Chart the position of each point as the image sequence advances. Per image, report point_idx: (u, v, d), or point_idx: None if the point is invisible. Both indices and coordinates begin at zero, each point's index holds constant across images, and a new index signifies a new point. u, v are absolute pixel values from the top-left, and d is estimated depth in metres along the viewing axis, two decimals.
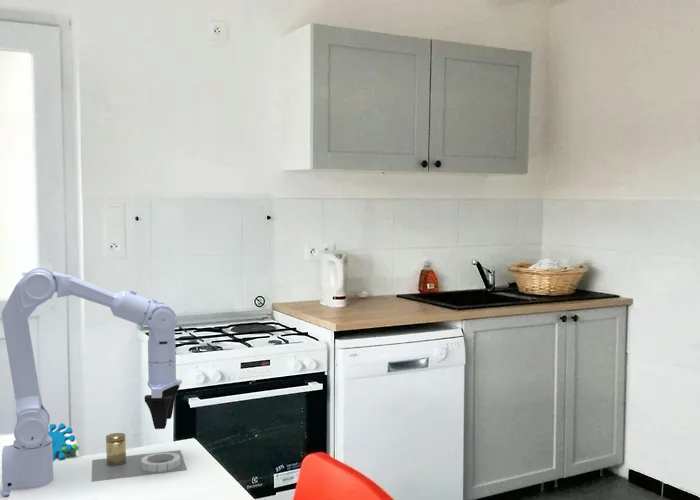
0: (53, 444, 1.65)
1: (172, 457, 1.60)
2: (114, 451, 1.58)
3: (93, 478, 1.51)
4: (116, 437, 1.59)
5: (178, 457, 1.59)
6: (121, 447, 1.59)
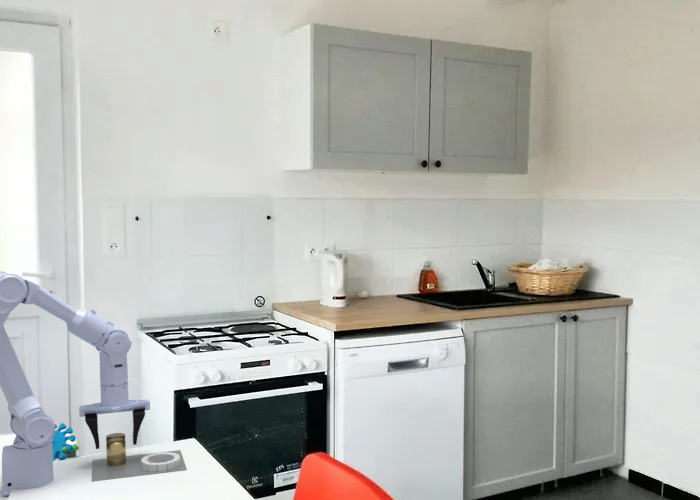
0: (53, 444, 1.65)
1: (172, 457, 1.60)
2: (114, 451, 1.58)
3: (93, 478, 1.51)
4: (116, 437, 1.59)
5: (178, 457, 1.59)
6: (121, 447, 1.59)
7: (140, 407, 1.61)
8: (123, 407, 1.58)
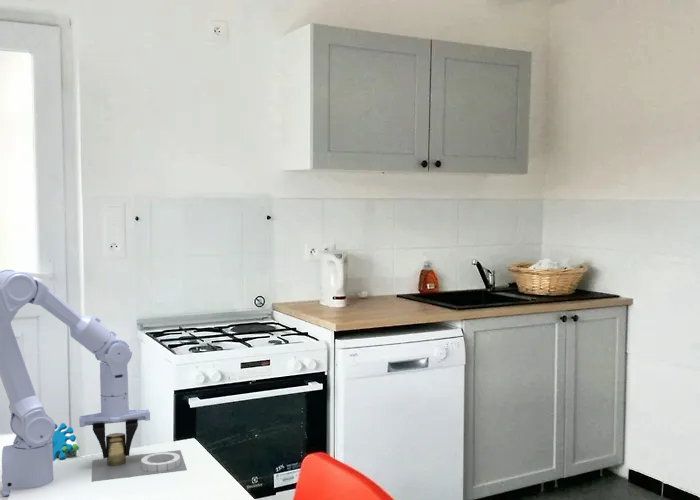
0: (54, 444, 1.65)
1: (172, 457, 1.60)
2: (114, 451, 1.58)
3: (93, 478, 1.51)
4: (116, 437, 1.59)
5: (178, 457, 1.59)
6: (121, 447, 1.59)
7: (140, 417, 1.61)
8: (123, 417, 1.58)
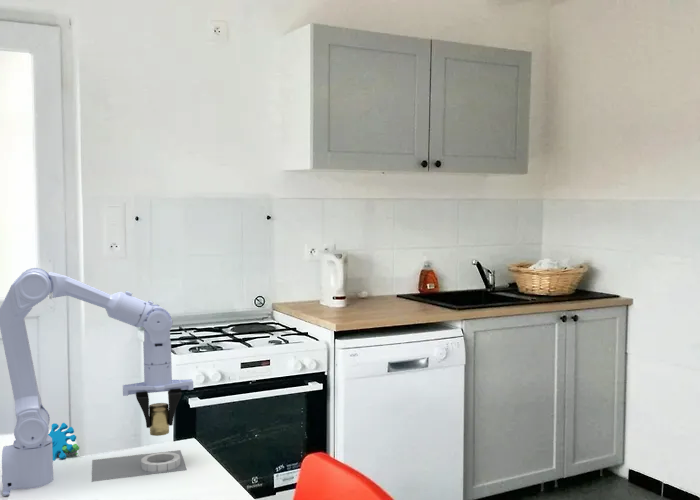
0: (54, 444, 1.65)
1: (172, 457, 1.60)
2: (158, 420, 1.56)
3: (93, 478, 1.51)
4: (160, 406, 1.57)
5: (178, 457, 1.59)
6: (165, 416, 1.57)
7: (183, 387, 1.59)
8: (167, 386, 1.56)
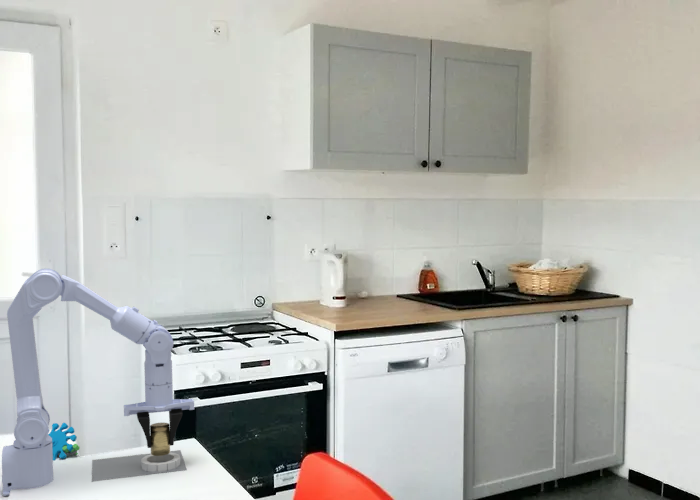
0: (54, 443, 1.65)
1: (172, 457, 1.60)
2: (159, 440, 1.57)
3: (93, 478, 1.51)
4: (161, 426, 1.57)
5: (178, 457, 1.59)
6: (166, 436, 1.57)
7: (184, 407, 1.59)
8: (168, 406, 1.56)
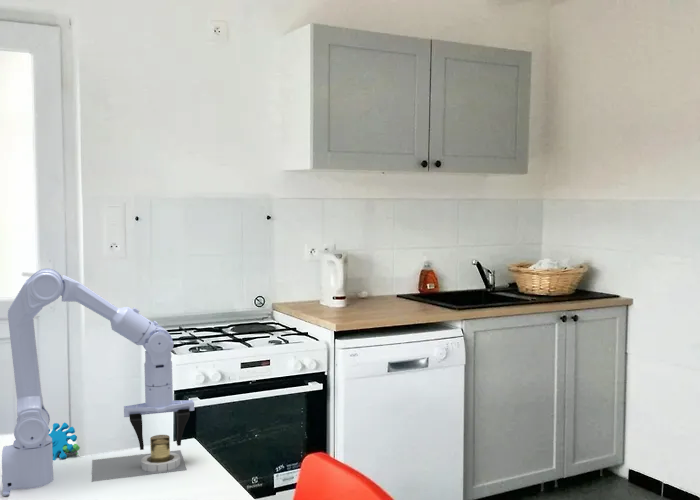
0: (55, 443, 1.66)
1: (172, 457, 1.60)
2: (159, 453, 1.57)
3: (93, 478, 1.51)
4: (161, 439, 1.57)
5: (178, 457, 1.59)
6: (166, 449, 1.58)
7: (184, 408, 1.59)
8: (168, 408, 1.56)
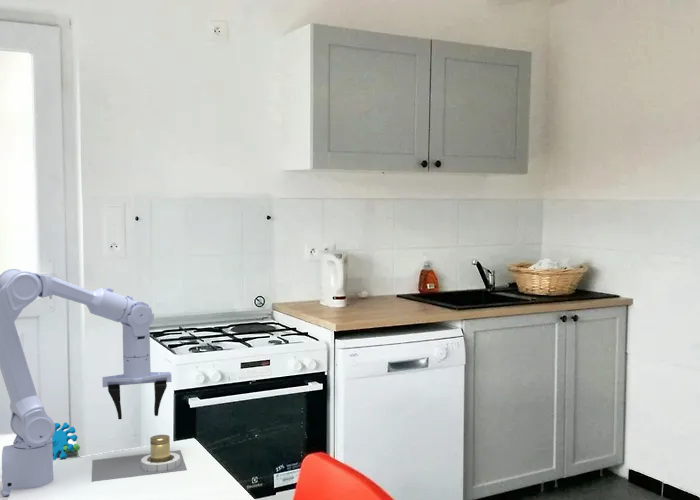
0: (55, 443, 1.66)
1: (172, 457, 1.60)
2: (159, 453, 1.57)
3: (93, 478, 1.51)
4: (161, 439, 1.57)
5: (178, 457, 1.59)
6: (166, 449, 1.58)
7: (162, 379, 1.64)
8: (145, 378, 1.61)
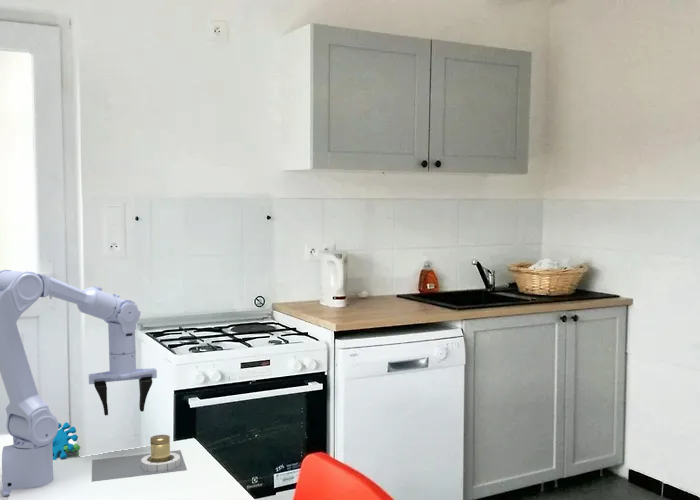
0: (56, 443, 1.66)
1: (172, 457, 1.60)
2: (159, 453, 1.57)
3: (93, 478, 1.51)
4: (161, 439, 1.57)
5: (178, 457, 1.59)
6: (166, 449, 1.58)
7: (147, 375, 1.68)
8: (132, 375, 1.64)
